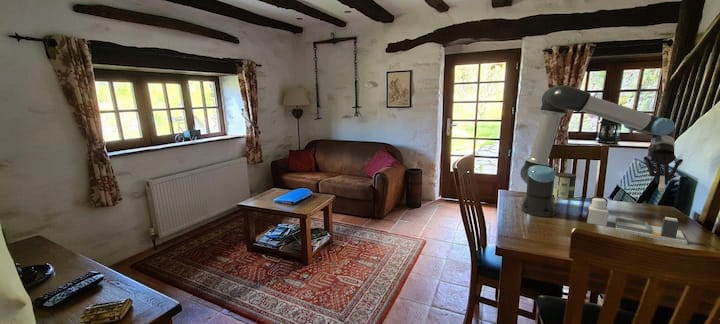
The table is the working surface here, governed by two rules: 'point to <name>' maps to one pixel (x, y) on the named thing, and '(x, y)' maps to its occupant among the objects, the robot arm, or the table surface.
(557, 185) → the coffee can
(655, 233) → the breaker panel
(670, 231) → the breaker toggle
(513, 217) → the table surface
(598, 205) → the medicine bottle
